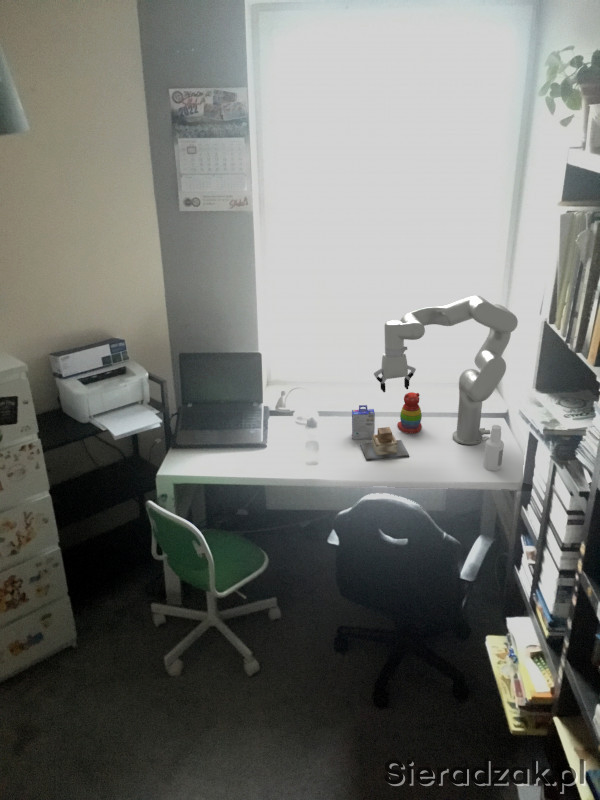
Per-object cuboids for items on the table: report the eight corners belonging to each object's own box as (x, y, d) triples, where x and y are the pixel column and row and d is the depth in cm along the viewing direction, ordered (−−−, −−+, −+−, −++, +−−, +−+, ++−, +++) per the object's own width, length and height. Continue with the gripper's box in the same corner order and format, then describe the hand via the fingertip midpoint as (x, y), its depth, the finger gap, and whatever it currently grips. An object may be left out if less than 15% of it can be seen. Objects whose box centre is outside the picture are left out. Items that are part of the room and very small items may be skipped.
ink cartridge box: (373, 433, 286) (374, 403, 279) (375, 439, 281) (375, 409, 274) (351, 433, 286) (351, 404, 280) (352, 439, 281) (352, 410, 275)
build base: (400, 441, 277) (401, 429, 275) (409, 456, 266) (409, 444, 263) (360, 445, 276) (360, 433, 273) (366, 460, 264) (366, 448, 261)
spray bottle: (504, 469, 254) (509, 429, 247) (489, 472, 253) (493, 432, 245) (495, 461, 260) (499, 421, 253) (480, 463, 259) (484, 424, 251)
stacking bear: (420, 423, 293) (421, 387, 285) (424, 433, 283) (426, 397, 276) (396, 424, 293) (397, 388, 285) (400, 434, 283) (401, 398, 276)
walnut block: (389, 437, 271) (389, 427, 269) (391, 443, 266) (392, 432, 264) (377, 438, 271) (377, 428, 268) (380, 444, 266) (380, 433, 264)
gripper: (412, 345, 261) (412, 383, 268) (371, 350, 259) (372, 388, 267) (418, 351, 254) (418, 390, 261) (375, 357, 252) (376, 396, 260)
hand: (395, 389), depth 264 cm, fingers open, 9 cm apart
